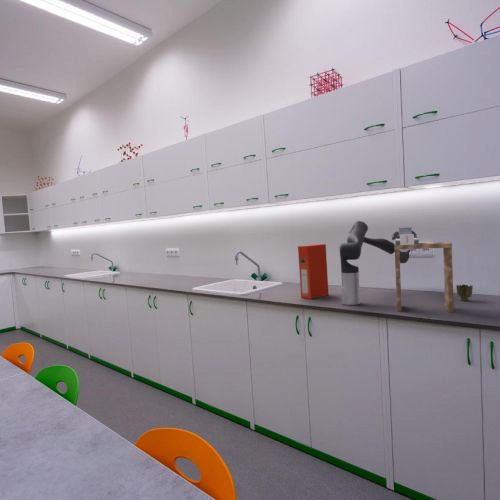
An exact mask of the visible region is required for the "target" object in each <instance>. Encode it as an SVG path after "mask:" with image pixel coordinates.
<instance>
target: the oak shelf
mask: <svg viewBox="0 0 500 500" xmlns="http://www.w3.org/2000/svg"><path fill="white" fill-rule="evenodd" d="M394 246H395V252H394V265H395V269H394V270H395V271H394V272H395V294H396V311H397V312H402V310H403V309H402V306H403V305H402V287H401V281H402V280H401V263H400V255H399V249H411V250H414V249H415V250H416V249H417V250H419V249H442V250H443V251H442V252H443V253H442V255H443V275H444V276H443V277H444V280H443V281H444V283H443V284H444V306H445V309H446V310H447V312H448V313H450V314H451V313H454V312H455V311H454V309H455V308H454V307H455V306H454V305H455V304H454V303H455V301H454V281H453V280H454V279H453V278H454V277H453V276H454V275H453V272H454V271H453V243H452V242H449V241H433V242H432V241H431V242H419V244H415V245H396V244H395V243H394Z"/></svg>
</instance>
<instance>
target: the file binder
mask: <svg viewBox="0 0 500 500" xmlns="http://www.w3.org/2000/svg"><path fill="white" fill-rule="evenodd" d="M297 252H298V267H299V268H298V269H299V270H298V271H299V285H300V298H301V299H305V300H313V299H317V298H320V297H324V296H329V295H330V294H329V280H328V278H329V277H328V262H327V261H328V260H327V245H326V243H325V244H324V243H322V244H321V243H319V244H308V245H300V246H297Z"/></svg>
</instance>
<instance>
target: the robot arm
mask: <svg viewBox="0 0 500 500" xmlns="http://www.w3.org/2000/svg"><path fill="white" fill-rule="evenodd" d="M368 230H369V226H368V225H367V224H366V222H364V221H361V220H357V221H355V222H354V224H353V225H352V227H351V229H350V231H349V232H348V233H349V235H348V236H347V238H346V239H347V240H346V242H343V243H340V246H339V258H340V268H341V269H340V270H341V271H340V272H341V287H340V288H341V304H342V305H347V306H355V305H360V304H361V290H360V269H359V266H357V265H354V264H352V263H349V261H355V260H359V259H360V258H361V254H362V246H363V244H366V245H370V246H372V247H375V248H378V249H380V250H382V251H383V252H385V253H387V254H389V255H393V254H395V246H394V244H395V243H394V242H392V241H395V240H396V239H400V236H399V231H395V232H394V233H393V234H392V235H391V240H392V241H390V240H388V239H385V238H371V237H370V238H369V237H366V234H367V232H368ZM412 234H414V238H417V239H418V235H417V233H416V232H414V230H412ZM409 252H410V249H399V255H400V264H406V263H408V261H409V259H410V257H409Z"/></svg>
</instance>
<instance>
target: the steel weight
mask: <svg viewBox="0 0 500 500" xmlns="http://www.w3.org/2000/svg"><path fill="white" fill-rule="evenodd" d="M412 228H413V227H411V226H409V227H406V226H405V227H398V232H399V235H398V236H400V235H402V234H412V231H413V229H412Z"/></svg>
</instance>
